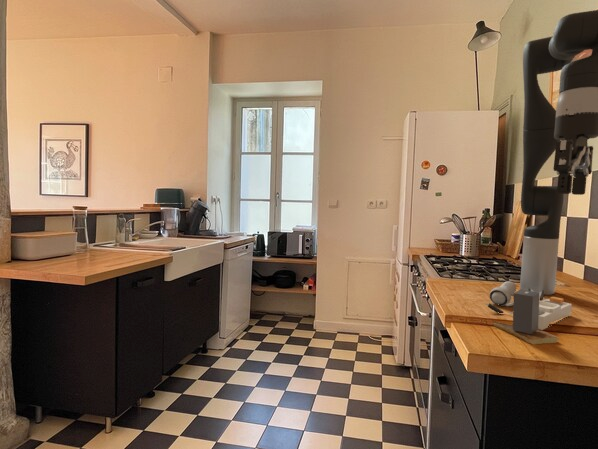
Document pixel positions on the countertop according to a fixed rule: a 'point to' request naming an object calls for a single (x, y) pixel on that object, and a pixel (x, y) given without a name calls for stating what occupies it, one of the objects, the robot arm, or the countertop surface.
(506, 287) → the clip-on lamp
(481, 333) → the countertop surface
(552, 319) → the power strip
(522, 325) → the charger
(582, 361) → the countertop surface
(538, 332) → the shard
